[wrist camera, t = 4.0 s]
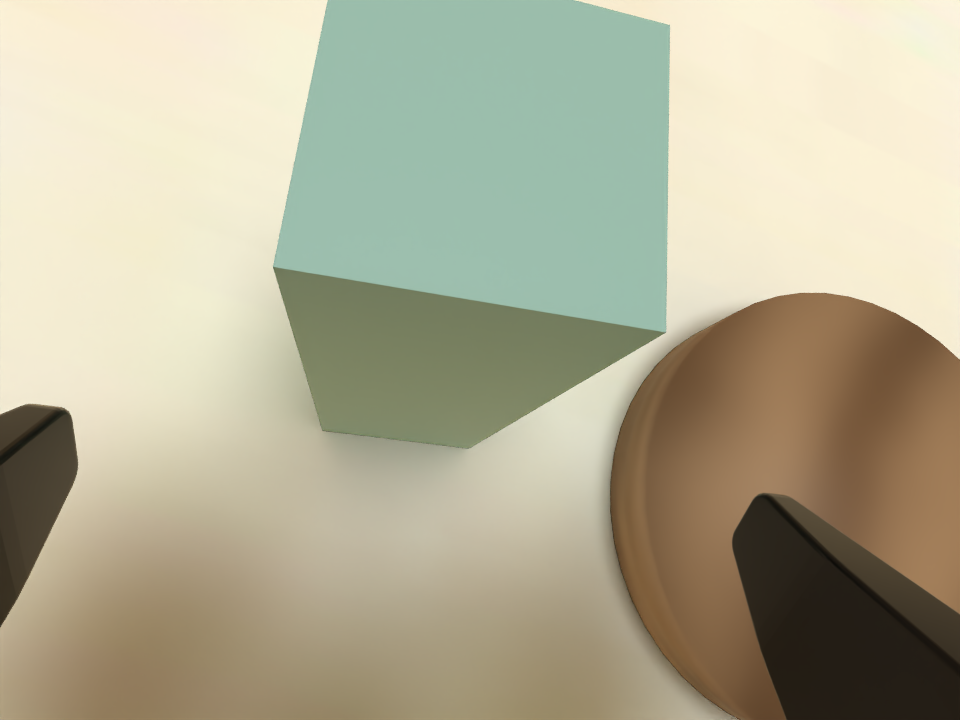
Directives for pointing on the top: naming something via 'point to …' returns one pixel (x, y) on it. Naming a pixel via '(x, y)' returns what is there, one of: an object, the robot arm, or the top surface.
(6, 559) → the robot arm
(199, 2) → the top surface
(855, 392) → the walnut base
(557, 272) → the sage green post
